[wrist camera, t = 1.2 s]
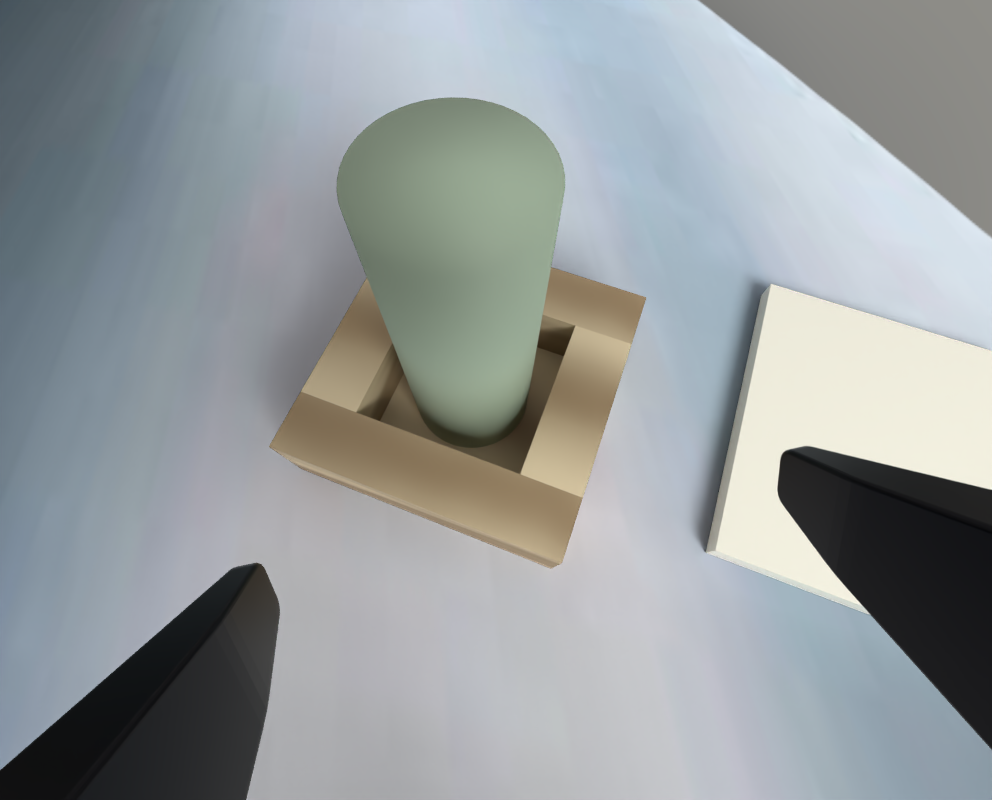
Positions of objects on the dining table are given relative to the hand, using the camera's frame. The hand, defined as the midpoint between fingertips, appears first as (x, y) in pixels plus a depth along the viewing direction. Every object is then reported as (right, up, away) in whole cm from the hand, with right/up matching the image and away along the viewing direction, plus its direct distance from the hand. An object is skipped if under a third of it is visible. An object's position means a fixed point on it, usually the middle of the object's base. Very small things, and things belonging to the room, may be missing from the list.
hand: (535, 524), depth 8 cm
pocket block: (-2, +2, +15) cm, 16 cm away
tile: (+16, 0, +14) cm, 22 cm away
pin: (-2, +2, +15) cm, 15 cm away
